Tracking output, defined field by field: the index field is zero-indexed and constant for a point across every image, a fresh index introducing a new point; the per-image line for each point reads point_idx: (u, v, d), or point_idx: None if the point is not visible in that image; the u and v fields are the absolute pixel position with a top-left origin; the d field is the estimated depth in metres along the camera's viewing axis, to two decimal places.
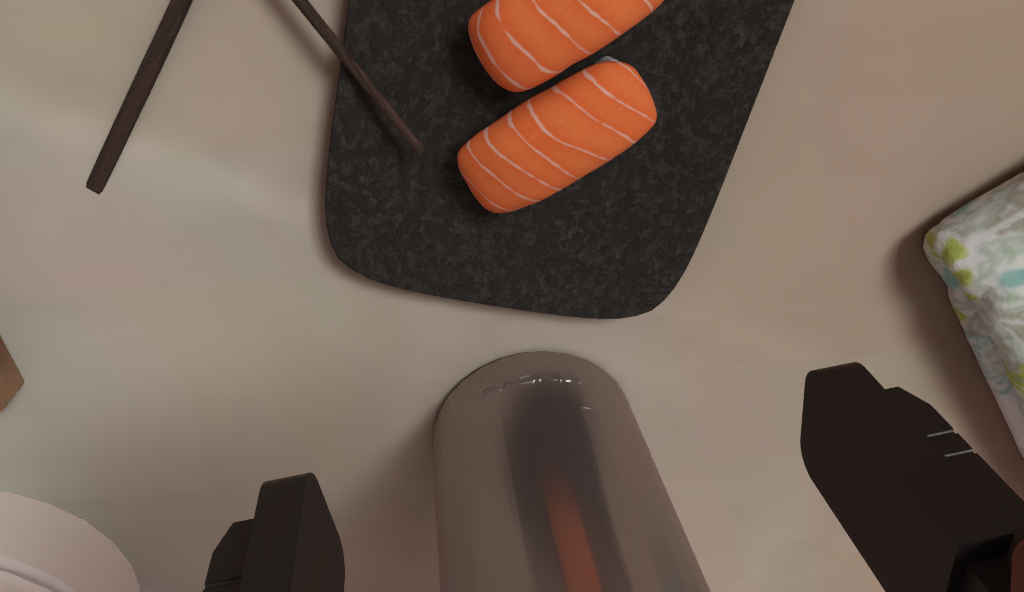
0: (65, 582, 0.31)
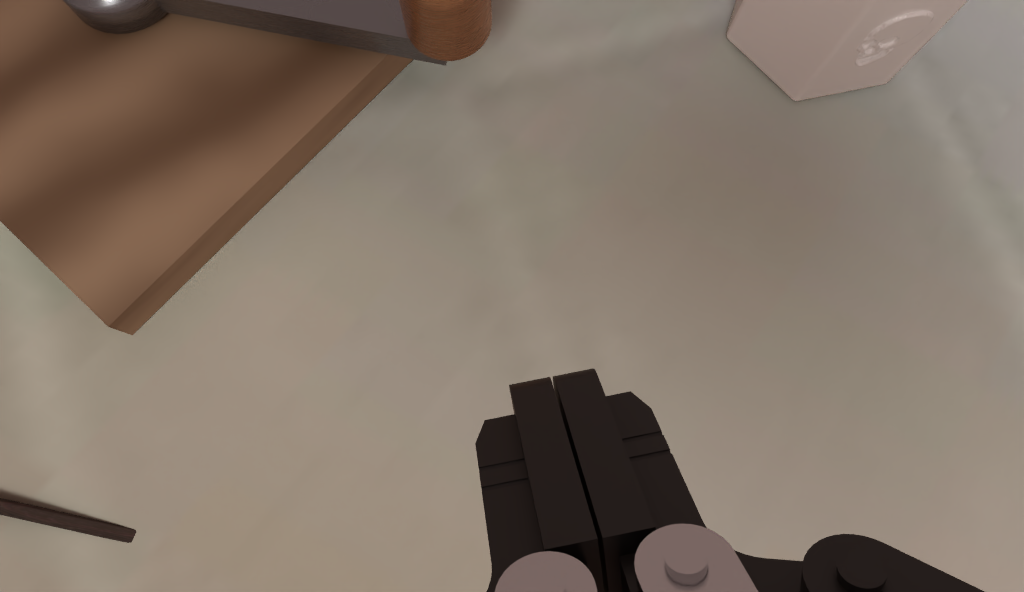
0: None
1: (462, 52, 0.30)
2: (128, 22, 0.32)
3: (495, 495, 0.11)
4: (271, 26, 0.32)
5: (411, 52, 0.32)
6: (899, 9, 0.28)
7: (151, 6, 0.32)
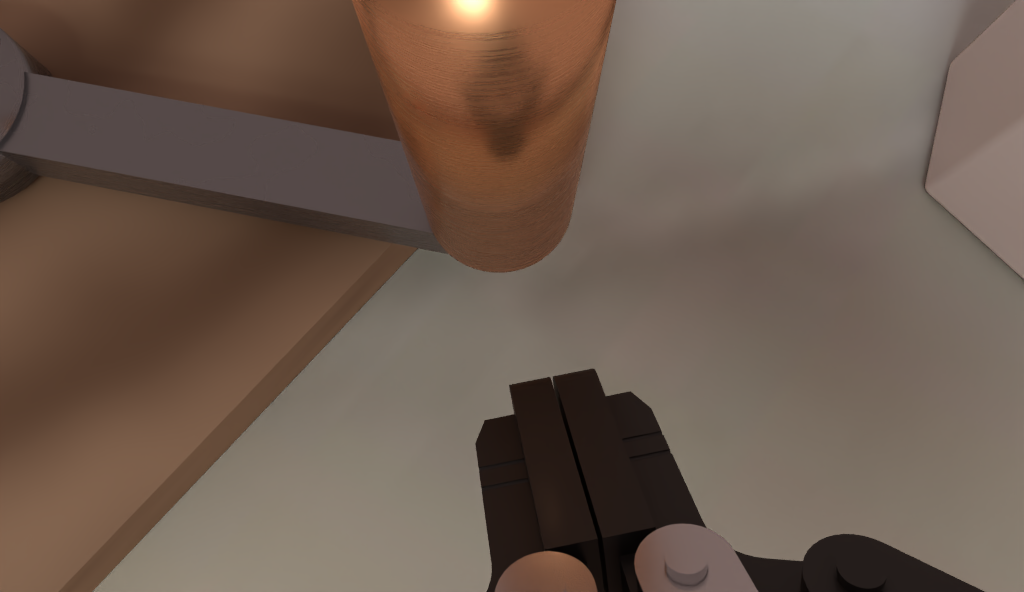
0: None
1: (526, 262, 0.18)
2: None
3: (495, 495, 0.11)
4: (204, 202, 0.20)
5: (435, 245, 0.19)
6: None
7: (7, 171, 0.20)
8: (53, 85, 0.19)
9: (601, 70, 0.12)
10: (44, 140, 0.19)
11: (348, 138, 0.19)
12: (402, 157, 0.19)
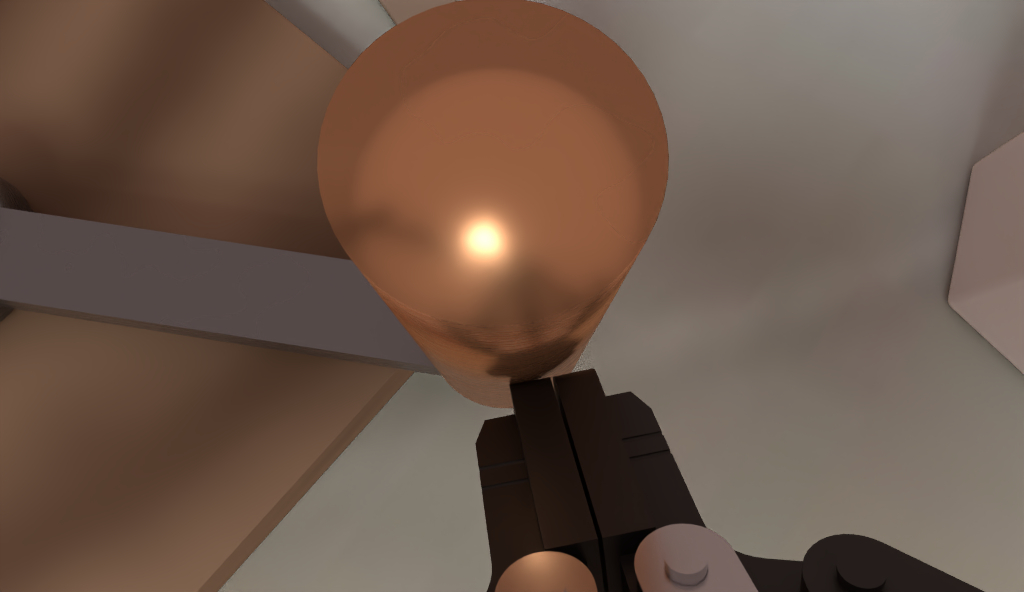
0: None
1: None
2: None
3: (495, 495, 0.11)
4: (192, 334, 0.19)
5: (439, 372, 0.18)
6: None
7: None
8: (24, 220, 0.18)
9: None
10: (17, 281, 0.18)
11: (342, 266, 0.18)
12: None
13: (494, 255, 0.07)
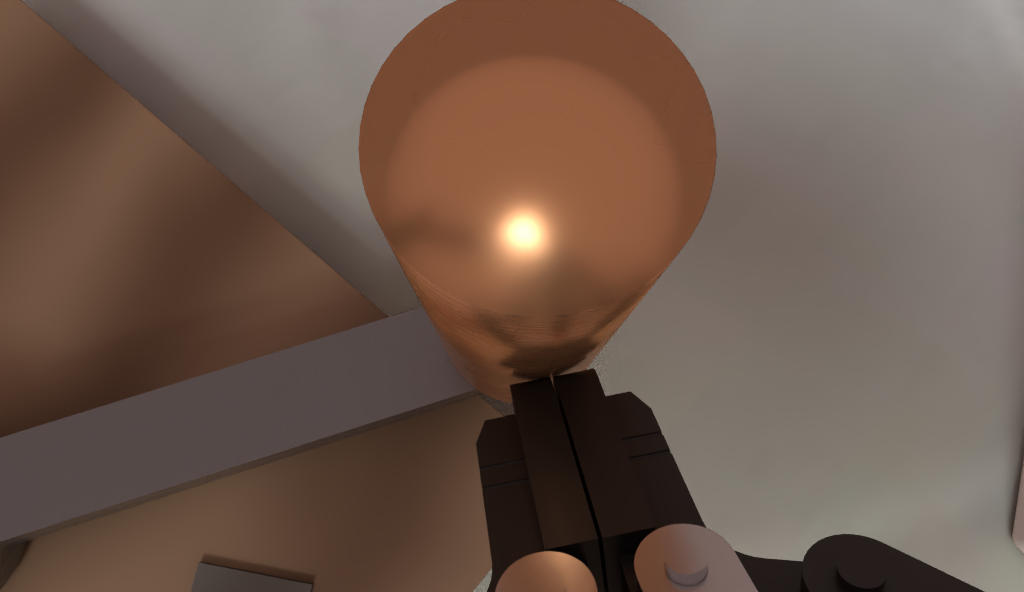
0: None
1: None
2: None
3: (495, 495, 0.11)
4: (223, 475, 0.18)
5: (476, 394, 0.18)
6: None
7: None
8: None
9: None
10: (24, 511, 0.16)
11: (340, 340, 0.17)
12: (403, 331, 0.17)
13: (591, 232, 0.07)
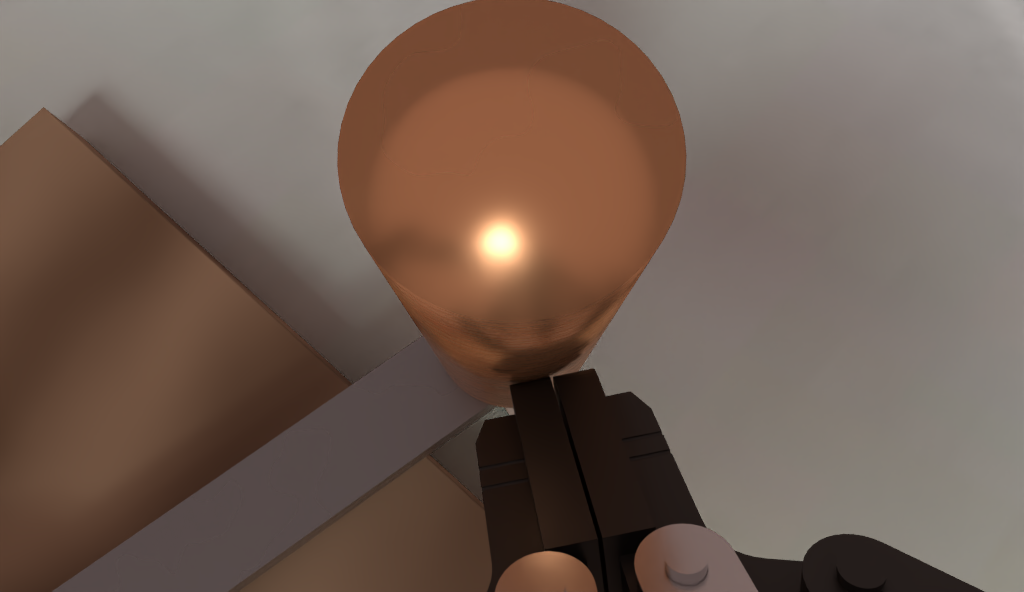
0: None
1: None
2: None
3: (495, 495, 0.11)
4: (269, 566, 0.17)
5: (489, 409, 0.18)
6: None
7: None
8: None
9: None
10: None
11: (343, 399, 0.17)
12: (402, 371, 0.17)
13: (590, 221, 0.08)
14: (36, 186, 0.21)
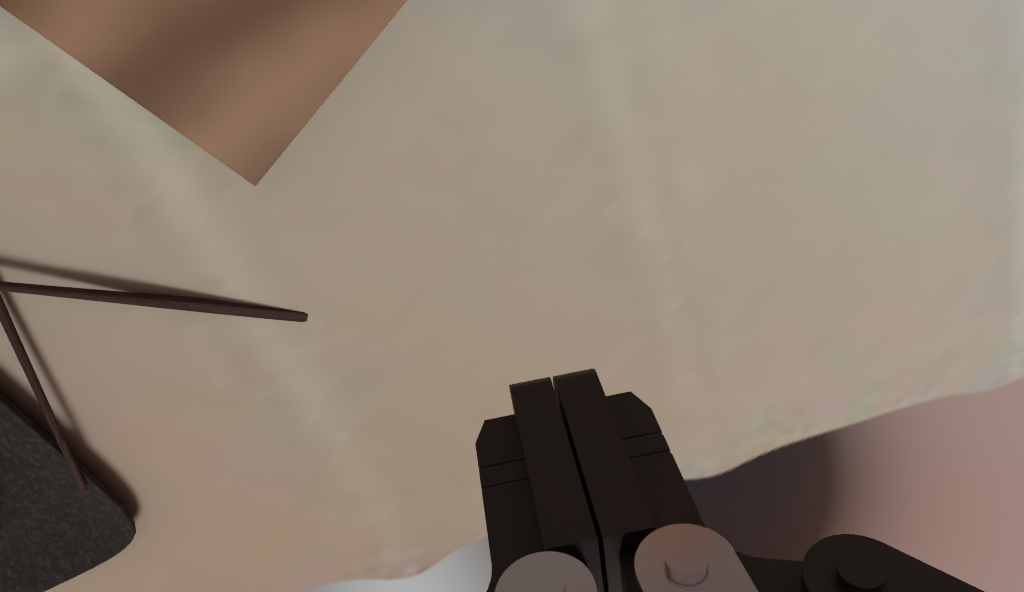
0: None
1: None
2: None
3: (495, 495, 0.11)
4: None
5: None
6: None
7: None
8: None
9: None
10: None
11: None
12: None
13: None
14: None
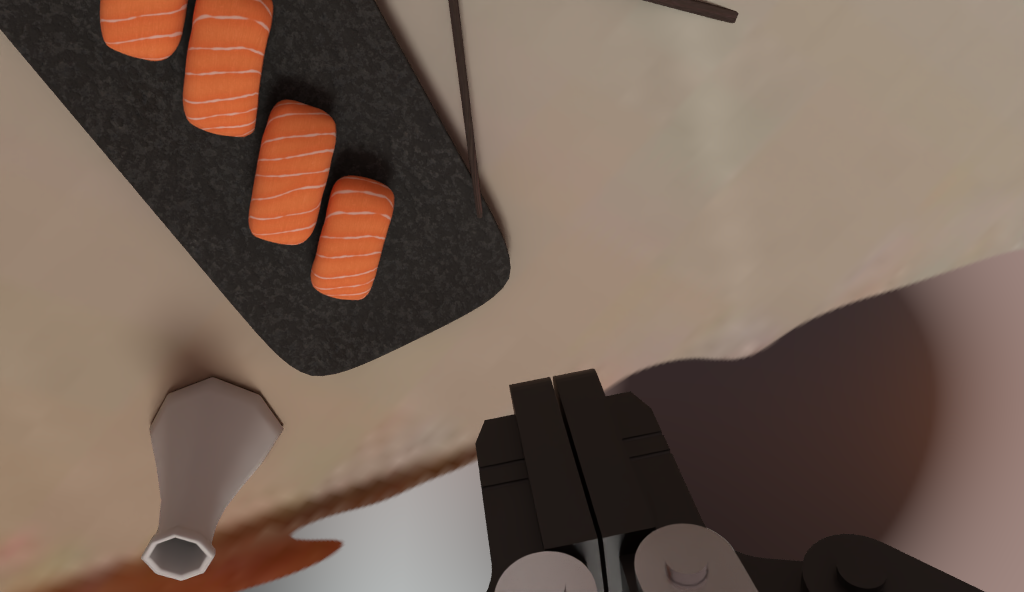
0: None
1: None
2: None
3: (495, 495, 0.11)
4: None
5: None
6: None
7: None
8: None
9: None
10: None
11: None
12: None
13: None
14: None
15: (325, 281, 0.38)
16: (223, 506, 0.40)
